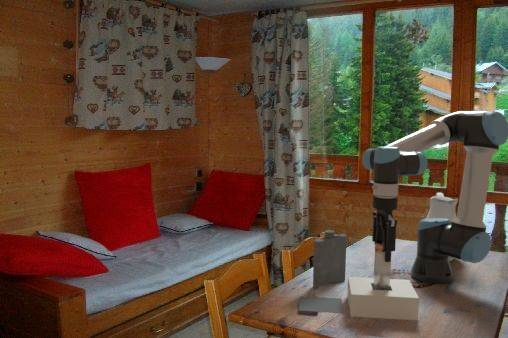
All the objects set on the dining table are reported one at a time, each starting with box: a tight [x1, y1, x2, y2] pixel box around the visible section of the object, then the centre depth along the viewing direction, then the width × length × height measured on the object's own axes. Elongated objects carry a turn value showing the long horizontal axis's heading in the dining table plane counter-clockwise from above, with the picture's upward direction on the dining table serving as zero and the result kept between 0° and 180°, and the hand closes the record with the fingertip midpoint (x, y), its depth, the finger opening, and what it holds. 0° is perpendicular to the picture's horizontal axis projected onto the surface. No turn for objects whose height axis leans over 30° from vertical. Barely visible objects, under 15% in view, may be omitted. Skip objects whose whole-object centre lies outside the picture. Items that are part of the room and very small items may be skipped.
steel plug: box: [373, 242, 391, 291], centre depth 153 cm, size 5×5×18 cm
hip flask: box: [312, 229, 347, 290], centre depth 178 cm, size 16×4×20 cm, turn 128°
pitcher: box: [425, 192, 459, 262], centre depth 214 cm, size 24×17×28 cm
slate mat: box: [298, 295, 345, 316], centre depth 157 cm, size 14×12×1 cm
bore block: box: [346, 276, 420, 321], centre depth 154 cm, size 20×16×8 cm
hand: (382, 268), depth 153 cm, fingers closed on steel plug, 5 cm apart
